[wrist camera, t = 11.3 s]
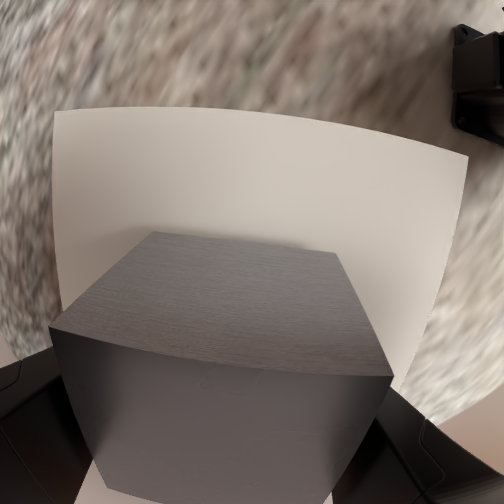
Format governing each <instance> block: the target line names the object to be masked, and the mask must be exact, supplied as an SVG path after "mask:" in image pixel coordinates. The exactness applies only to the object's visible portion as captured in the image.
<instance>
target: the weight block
mask: <svg viewBox="0 0 504 504" xmlns="http://www.w3.org/2000/svg"><path fill="white" fill-rule="evenodd" d="M48 327H49V332H50V336H51V340H52V344H53V348H54V351H55V355H56V359H57V362H58V366H59V369H60V372H61V376H62V379H63V382H64V385H65V388H66V391H67V394H68V397H69V400H70V403H71V406H72V408H73V411H74V414H75V416H76V419H77V422H78V424H79V427H80V429H81V432H82V434H83V437H84V439H85V441H86V444H87V446H88V448H89V451H90V453H91V455H92V457H93V459H94V462H95V464H96V466H97V468H98V470H99V472H100V474H101V476H102V478H103V480H104V482H105V484H106V486H107V488H110V489H113V490H116V491H119V492H122V493H125V494H129V495H132V496H136V497H139V498H143V499H147V500H150V501H155V502H158V503H163V504H323V503H324V501H325V499H326V498H327V497H328V495H329V494H330V493H331V491H332V490H333V488H334V487H335V485H336V484H337V482H338V480H339V479H340V477H341V476H342V474H343V472H344V471H345V469H346V468H347V466H348V464H349V463H350V461H351V459H352V458H353V456H354V454H355V453H356V451H357V449H358V447H359V446H360V444H361V442H362V440H363V438H364V437H365V435H366V433H367V431H368V429H369V427H370V426H371V424H372V422H373V420H374V418H375V416H376V414H377V412H378V410H379V408H380V406H381V404H382V402H383V400H384V398H385V396H386V394H387V392H388V389H389V387H390V385H391V383H392V381H393V378H394V373H393V371H392V369H391V367H390V364H389V362H388V360H387V358H386V355H385V353H384V351H383V349H382V346H381V344H380V342H379V340H378V338H377V336H376V333H375V331H374V329H373V327H372V325H371V323H370V321H369V319H368V316H367V314H366V312H365V310H364V308H363V306H362V304H361V302H360V300H359V298H358V296H357V294H356V292H355V290H354V288H353V286H352V284H351V282H350V280H349V278H348V276H347V274H346V272H345V270H344V268H343V266H342V264H341V262H340V260H339V258H338V256H337V254H336V253H333V252H325V251H317V250H308V249H300V248H292V247H284V246H276V245H268V244H259V243H251V242H243V241H234V240H226V239H217V238H209V237H200V236H192V235H183V234H174V233H166V232H157V231H153V232H152V233H151V234H150V235H148V236H147V237H146V238H145V239H144V240H142V241H141V242H140V243H139V244H138V245H136V246H135V247H134V248H133V249H132V250H131V251H129V252H128V253H127V254H126V255H125V256H124V257H123V258H121V259H120V260H119V261H118V262H117V263H116V264H115V265H113V266H112V267H111V268H110V269H109V270H108V271H107V272H106V273H104V274H103V275H102V276H101V277H100V278H99V279H98V280H97V281H96V282H94V283H93V284H92V285H91V286H90V287H89V288H88V289H87V290H86V291H85V292H84V293H83V294H81V295H80V296H79V297H78V298H77V299H76V300H75V301H74V302H73V303H72V304H71V305H70V306H69V307H68V308H67V309H66V310H65V311H63V312H62V313H61V314H60V315H59V316H58V317H57V318H56V319H55V320H54V321H53V322H52V323H51V324H50V325H49V326H48Z"/></svg>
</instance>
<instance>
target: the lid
mask: <svg viewBox="0 0 504 504" xmlns="http://www.w3.org/2000/svg"><path fill="white" fill-rule="evenodd" d="M468 158H469V156H466V155H463V154H459V153H456V152H453V151H450V150H447V149H443V148H440V147H436V146H433V145H429V144H426V143H422V142H419V141H415V140H411V139H407V138H403V137H399V136H395V135H391V134H387V133H382V132H378V131H373V130H369V129H364V128H359V127H354V126H349V125H344V124H338V123H333V122H327V121H321V120H315V119H308V118H302V117H294V116H287V115H279V114H271V113H262V112H252V111H241V110H229V109H214V108H195V107H109V108H90V109H77V110H65V111H55V117H54V130H53V148H52V212H53V230H54V244H55V255H56V264H57V273H58V281H59V288H60V295H61V302H62V308H63V311H65V310H66V309H67V308H68V307H69V306H70V305H71V304H72V303H73V302H74V301H75V300H76V299H77V298H78V297H79V296H80V295H81V294H83V293H84V292H85V291H86V290H87V289H88V288H89V287H90V286H91V285H92V284H93V283H94V282H96V281H97V280H98V279H99V278H100V277H101V276H102V275H103V274H104V273H106V272H107V271H108V270H109V269H110V268H111V267H112V266H113V265H115V264H116V263H117V262H118V261H119V260H120V259H121V258H123V257H124V256H125V255H126V254H127V253H128V252H129V251H131V250H132V249H133V248H134V247H135V246H136V245H138V244H139V243H140V242H141V241H142V240H144V239H145V238H146V237H147V236H148V235H150V234H151V233H152V232H153V231H157V232H166V233H174V234H183V235H192V236H200V237H209V238H217V239H226V240H234V241H243V242H251V243H259V244H268V245H276V246H284V247H292V248H300V249H308V250H317V251H325V252H333V253H336V254H337V256H338V258H339V260H340V262H341V264H342V266H343V268H344V270H345V272H346V274H347V276H348V278H349V280H350V282H351V284H352V286H353V288H354V290H355V292H356V294H357V296H358V298H359V300H360V302H361V304H362V306H363V308H364V310H365V312H366V314H367V316H368V319H369V321H370V323H371V325H372V327H373V329H374V331H375V333H376V336H377V338H378V340H379V342H380V344H381V346H382V349H383V351H384V353H385V355H386V358H387V360H388V362H389V364H390V367H391V369H392V371H393V373H394V378H393V381H392V383H391V385H390V386H391V387H392V388H393V389H394V390H395V391H396V392H397V393H398V391H399V389H400V387H401V385H402V383H403V381H404V378H405V376H406V374H407V372H408V370H409V367H410V365H411V363H412V360H413V358H414V356H415V353H416V351H417V348H418V346H419V343H420V341H421V338H422V336H423V333H424V331H425V328H426V325H427V322H428V320H429V317H430V314H431V311H432V308H433V306H434V303H435V300H436V297H437V294H438V290H439V287H440V284H441V281H442V278H443V274H444V271H445V267H446V264H447V260H448V257H449V253H450V249H451V245H452V241H453V237H454V233H455V229H456V225H457V220H458V216H459V211H460V206H461V201H462V196H463V190H464V185H465V179H466V172H467V166H468Z"/></svg>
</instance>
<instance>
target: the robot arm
mask: <svg viewBox="0 0 504 504" xmlns="http://www.w3.org/2000/svg"><path fill="white" fill-rule="evenodd" d="M502 9H503V11H504V7H503V8H502ZM461 30H462V31H463V32H464V33H465V35H463V34H462V32H461ZM452 90H453V103H452V115H451V123H452V126H453V127H454V129H456V130H457V131H460V132H463V133H466V134H469V135H471V136H474V137H477V138H479V139H482V140H485V141H487V142H490V143H492V144H495V145H497V146H500V147H502V148H504V31H503V32H500V33H498V32H496V31H494V32H492V33H489V34H486V35H485V34H483V33H481V32H479V31H477V30H475V29H473V28H471V27H468V26H466V25H464V24H459V25H457V26H456V27H455V29H454V48H453V67H452ZM459 118H461V120H462V125H461V126H460V124H459V122H458V120H459ZM92 460H93V457H92V455H91V453H90V451H89V448H88V446H87V444H86V441H85V439H84V437H83V434H82V432H81V429H80V427H79V424H78V422H77V419H76V416H75V414H74V411H73V408H72V406H71V403H70V400H69V397H68V394H67V391H66V388H65V385H64V382H63V379H62V376H61V372H60V369H59V366H58V362H57V359H56V355H55V351H54V348H53V346H52V347H50V348H48V349H45V350H43V351H41V352H38V353H36V354H33V355H31V356H29V357H26V358H24V359H23V360H22V361H21V360H19V361H17V362H15V363H12V364H10V365H8V366H5V367H3V368H0V504H74V502H75V500H76V497H77V495H78V493H79V490H80V488H81V486H82V483H83V481H84V479H85V476H86V474H87V472H88V469H89V467H90V465H91V462H92ZM331 492H332V499H333V504H504V475H502V474H500V473H499V472H497V471H496V470H494V469H493V468H491V467H490V466H488V465H487V464H485V463H484V462H483V461H481V460H480V459H478V458H477V457H475V456H474V455H473V454H471V453H470V452H468V451H467V450H465V449H464V448H462V447H461V446H460V445H459V444H457V443H456V442H455V441H453V440H452V439H451V438H449V437H448V436H447V435H446V434H445V433H443V432H442V431H441V430H440V429H438V428H437V427H436V426H435V425H434V424H433V423H432V422H430V421H429V420H428V419H425V416H423V415H422V414H421V413H420V412H419V411H418V410H417V409H416V408H414V407H413V406H412V405H411V404H410V403H409V402H408V401H406V400H405V399H404V398H403V397H402V396H401V395H400V394H398V393H397V392H396V391H395V390H394V389H393V388H392V387H391V386H390V387H389V389H388V392H387V394H386V396H385V398H384V400H383V402H382V404H381V406H380V408H379V410H378V412H377V414H376V416H375V418H374V420H373V422H372V424H371V426H370V427H369V429H368V431H367V433H366V435H365V437H364V438H363V440H362V442H361V444H360V446H359V447H358V449H357V451H356V453H355V454H354V456H353V458H352V459H351V461H350V463H349V464H348V466H347V468H346V469H345V471H344V472H343V474H342V476H341V477H340V479H339V480H338V482H337V484H336V485H335V487H334V488H333V490H332V491H331Z"/></svg>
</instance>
